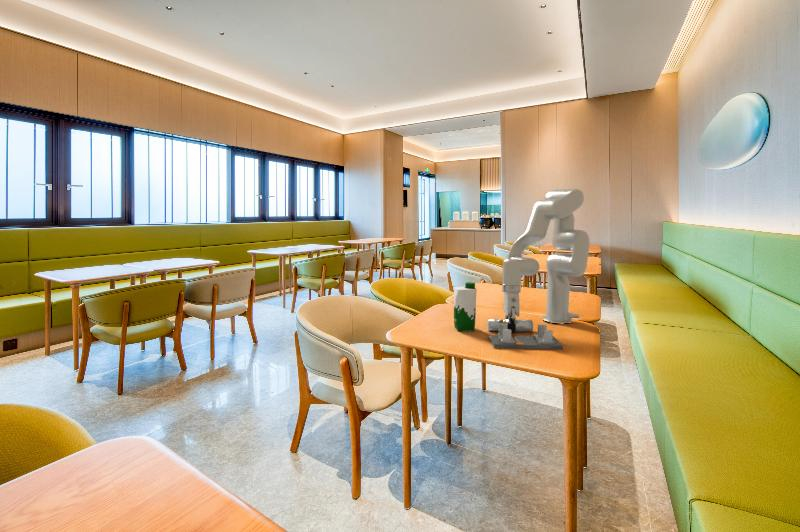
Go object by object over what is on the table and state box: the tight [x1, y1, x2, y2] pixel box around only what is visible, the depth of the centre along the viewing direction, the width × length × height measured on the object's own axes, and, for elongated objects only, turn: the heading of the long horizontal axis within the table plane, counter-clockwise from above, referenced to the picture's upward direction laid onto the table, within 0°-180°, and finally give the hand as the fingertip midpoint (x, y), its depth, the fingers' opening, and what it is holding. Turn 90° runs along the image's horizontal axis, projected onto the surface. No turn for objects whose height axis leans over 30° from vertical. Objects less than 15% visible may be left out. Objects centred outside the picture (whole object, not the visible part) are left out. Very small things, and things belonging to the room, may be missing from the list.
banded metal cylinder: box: [487, 318, 534, 333], centre depth 172 cm, size 18×5×5 cm, turn 86°
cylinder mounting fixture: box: [488, 323, 564, 351], centre depth 155 cm, size 25×12×6 cm, turn 86°
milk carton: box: [453, 281, 477, 332], centre depth 174 cm, size 9×9×20 cm
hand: (509, 330), depth 172 cm, fingers closed on banded metal cylinder, 5 cm apart
